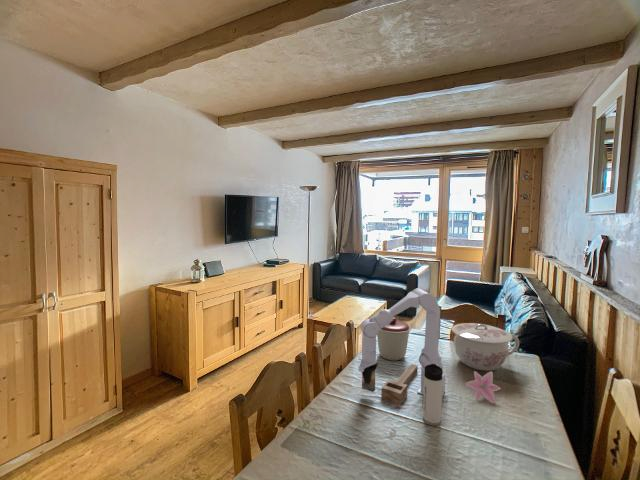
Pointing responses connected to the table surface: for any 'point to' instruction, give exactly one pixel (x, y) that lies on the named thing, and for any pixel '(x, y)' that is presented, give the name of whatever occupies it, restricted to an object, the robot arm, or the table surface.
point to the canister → (393, 340)
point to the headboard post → (399, 386)
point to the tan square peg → (371, 385)
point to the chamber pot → (482, 345)
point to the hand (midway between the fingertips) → (368, 381)
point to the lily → (484, 386)
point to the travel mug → (432, 395)
